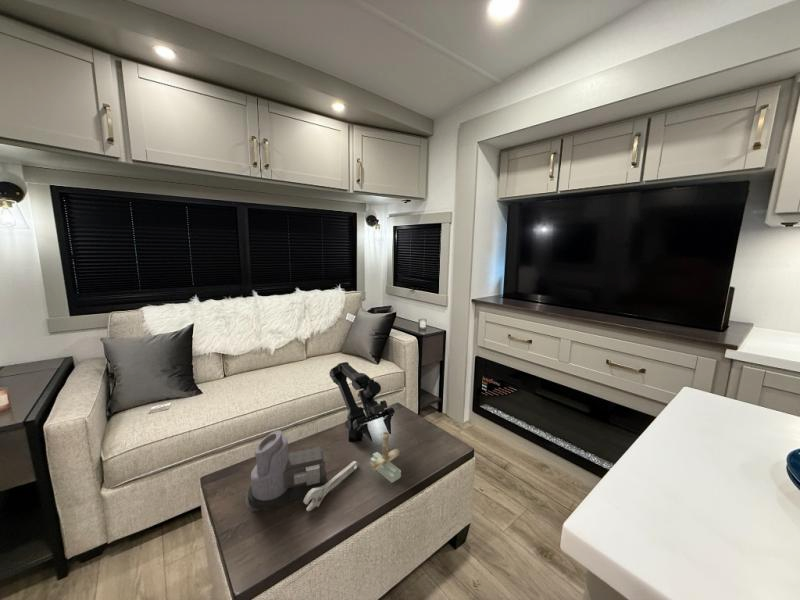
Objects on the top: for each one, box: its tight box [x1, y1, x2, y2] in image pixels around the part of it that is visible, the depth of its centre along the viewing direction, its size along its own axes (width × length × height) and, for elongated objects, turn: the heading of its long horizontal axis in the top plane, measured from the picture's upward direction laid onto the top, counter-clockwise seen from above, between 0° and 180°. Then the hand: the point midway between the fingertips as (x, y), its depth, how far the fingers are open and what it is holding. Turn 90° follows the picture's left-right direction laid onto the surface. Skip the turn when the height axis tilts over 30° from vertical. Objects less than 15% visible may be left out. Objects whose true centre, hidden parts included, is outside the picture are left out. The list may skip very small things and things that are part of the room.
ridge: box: [369, 451, 402, 484], centre depth 131 cm, size 14×5×4 cm, turn 43°
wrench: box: [302, 460, 359, 512], centre depth 121 cm, size 8×2×30 cm
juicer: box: [244, 430, 328, 513], centre depth 118 cm, size 30×16×24 cm, turn 110°
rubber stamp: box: [369, 432, 401, 471], centre depth 129 cm, size 14×2×12 cm, turn 133°
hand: (381, 437), depth 132 cm, fingers open, 9 cm apart
